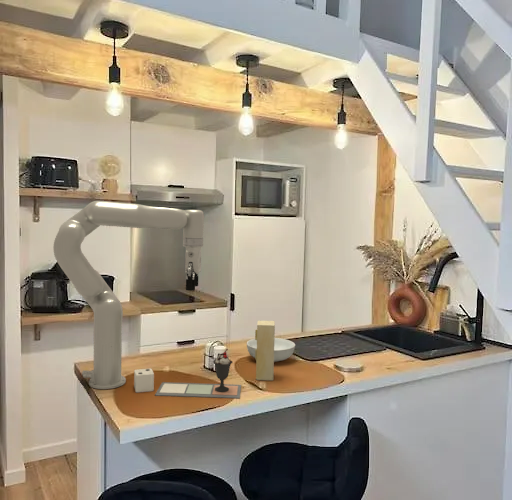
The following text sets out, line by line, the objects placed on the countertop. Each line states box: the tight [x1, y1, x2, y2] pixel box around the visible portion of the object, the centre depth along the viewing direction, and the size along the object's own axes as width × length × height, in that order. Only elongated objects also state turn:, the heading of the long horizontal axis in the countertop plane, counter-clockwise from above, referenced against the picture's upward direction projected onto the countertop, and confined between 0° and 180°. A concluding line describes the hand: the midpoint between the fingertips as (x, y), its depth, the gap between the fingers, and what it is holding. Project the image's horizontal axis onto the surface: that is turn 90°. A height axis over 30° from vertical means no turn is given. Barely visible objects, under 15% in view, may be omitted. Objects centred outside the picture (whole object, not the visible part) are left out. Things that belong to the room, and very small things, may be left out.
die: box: [133, 367, 155, 393], centre depth 168 cm, size 6×6×6 cm
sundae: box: [212, 348, 233, 392], centre depth 167 cm, size 7×7×15 cm
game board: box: [154, 381, 242, 399], centre depth 168 cm, size 29×12×1 cm, turn 89°
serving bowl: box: [246, 337, 296, 363], centre depth 206 cm, size 21×21×7 cm
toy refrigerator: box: [254, 320, 276, 381], centre depth 183 cm, size 8×7×21 cm
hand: (192, 288), depth 181 cm, fingers open, 9 cm apart
